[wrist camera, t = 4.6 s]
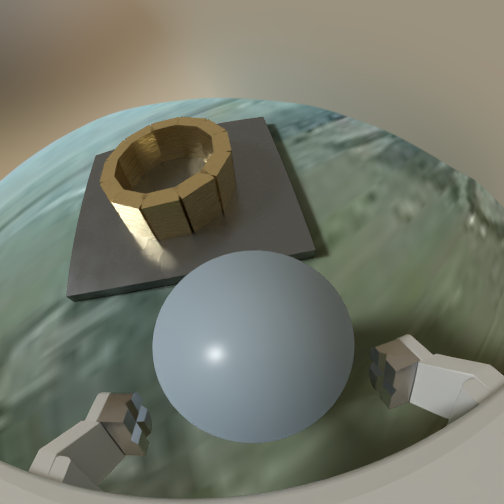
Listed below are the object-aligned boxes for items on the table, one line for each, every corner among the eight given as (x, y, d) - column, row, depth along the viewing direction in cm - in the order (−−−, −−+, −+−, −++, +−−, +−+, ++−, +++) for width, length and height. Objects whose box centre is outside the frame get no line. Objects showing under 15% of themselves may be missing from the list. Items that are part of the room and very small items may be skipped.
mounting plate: (263, 124, 27) (263, 116, 26) (313, 257, 19) (315, 249, 18) (99, 162, 26) (95, 155, 25) (73, 301, 18) (66, 296, 17)
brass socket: (226, 139, 24) (221, 108, 21) (244, 223, 19) (240, 187, 16) (125, 163, 24) (112, 135, 21) (113, 250, 19) (90, 222, 16)
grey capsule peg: (294, 329, 16) (321, 235, 8) (313, 408, 14) (376, 411, 5) (212, 345, 16) (148, 268, 8) (226, 425, 14) (166, 452, 5)
